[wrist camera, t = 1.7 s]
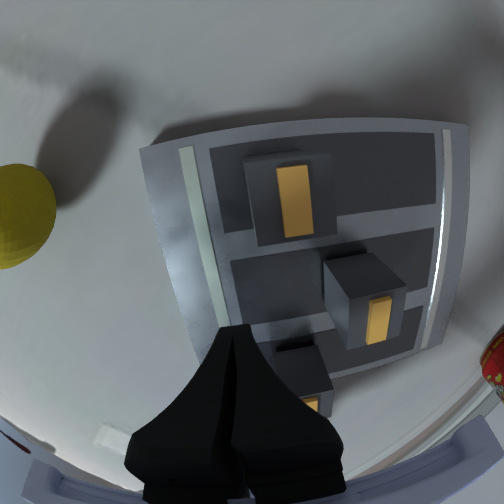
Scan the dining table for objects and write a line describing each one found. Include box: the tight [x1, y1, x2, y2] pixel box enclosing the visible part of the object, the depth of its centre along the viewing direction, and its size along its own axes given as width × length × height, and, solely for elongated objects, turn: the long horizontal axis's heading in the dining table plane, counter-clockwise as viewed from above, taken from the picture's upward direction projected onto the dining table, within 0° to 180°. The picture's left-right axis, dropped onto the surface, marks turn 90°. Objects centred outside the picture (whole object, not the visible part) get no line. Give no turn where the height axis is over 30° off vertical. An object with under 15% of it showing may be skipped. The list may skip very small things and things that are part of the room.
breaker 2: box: [272, 345, 334, 418], centre depth 16 cm, size 3×3×4 cm
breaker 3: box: [323, 252, 408, 350], centre depth 13 cm, size 3×3×4 cm
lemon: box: [0, 164, 56, 269], centre depth 11 cm, size 6×6×8 cm
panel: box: [139, 117, 470, 379], centre depth 16 cm, size 18×20×2 cm
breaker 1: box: [242, 150, 338, 247], centre depth 11 cm, size 3×3×4 cm
